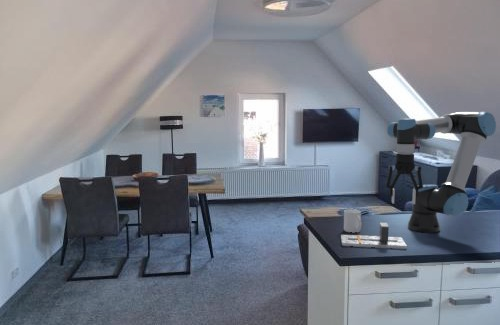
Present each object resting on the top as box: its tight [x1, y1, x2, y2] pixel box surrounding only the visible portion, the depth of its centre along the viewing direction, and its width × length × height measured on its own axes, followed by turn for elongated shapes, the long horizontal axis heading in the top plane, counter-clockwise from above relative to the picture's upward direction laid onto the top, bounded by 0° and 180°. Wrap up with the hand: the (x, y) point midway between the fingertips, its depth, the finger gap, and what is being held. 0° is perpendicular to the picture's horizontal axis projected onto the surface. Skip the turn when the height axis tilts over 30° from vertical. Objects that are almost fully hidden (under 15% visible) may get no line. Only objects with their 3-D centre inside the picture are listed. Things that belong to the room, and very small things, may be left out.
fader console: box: [340, 234, 408, 250], centre depth 193 cm, size 28×13×2 cm, turn 80°
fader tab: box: [379, 222, 390, 242], centre depth 192 cm, size 3×6×7 cm, turn 170°
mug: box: [343, 208, 363, 234], centre depth 211 cm, size 12×8×10 cm
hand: (403, 203), depth 189 cm, fingers open, 8 cm apart
